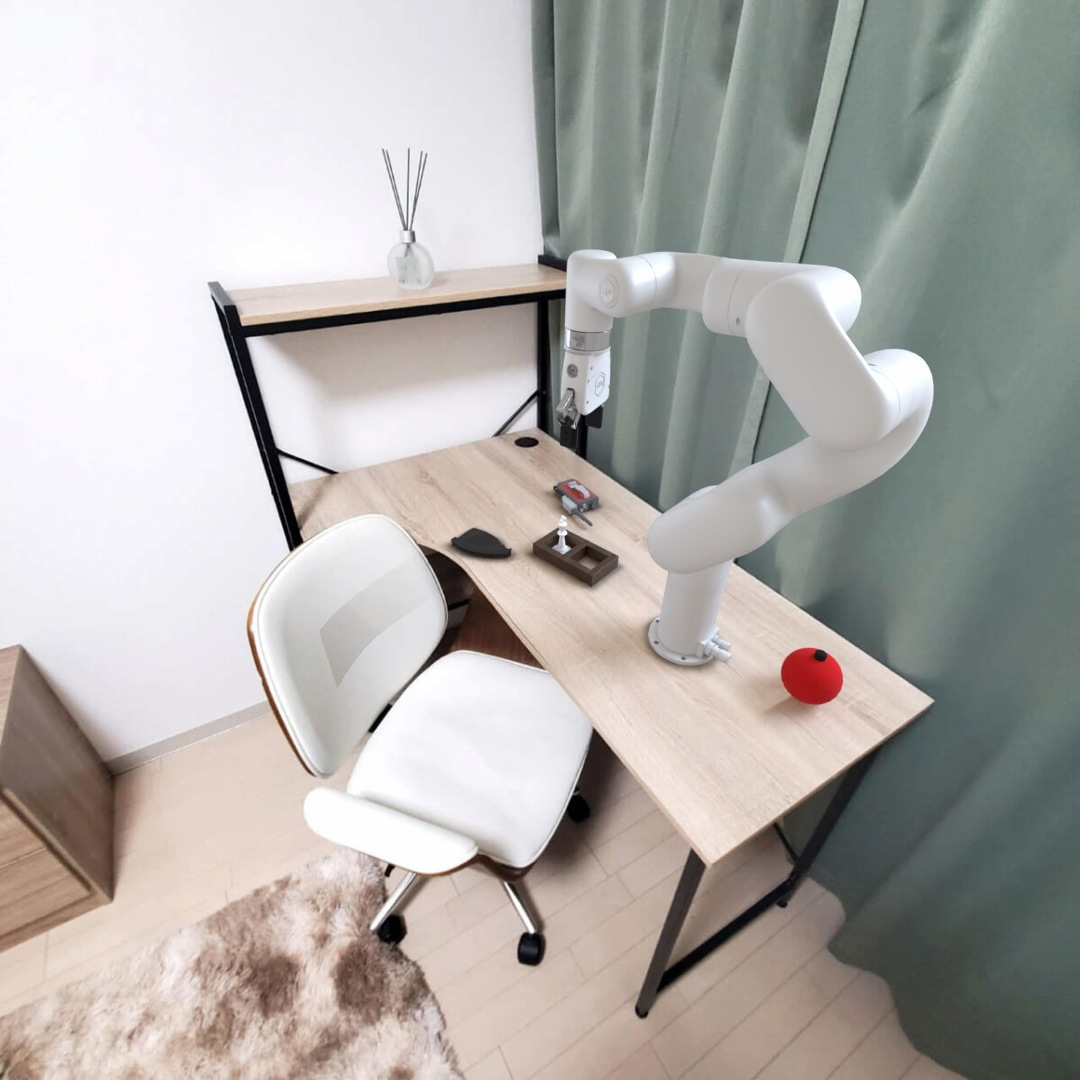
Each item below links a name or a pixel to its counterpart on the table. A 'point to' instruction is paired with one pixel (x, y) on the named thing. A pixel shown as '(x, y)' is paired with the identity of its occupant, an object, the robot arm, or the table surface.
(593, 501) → the walkie-talkie
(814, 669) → the ornament
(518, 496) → the table surface
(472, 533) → the curved wedge
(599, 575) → the rack
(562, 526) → the chess piece
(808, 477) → the robot arm
